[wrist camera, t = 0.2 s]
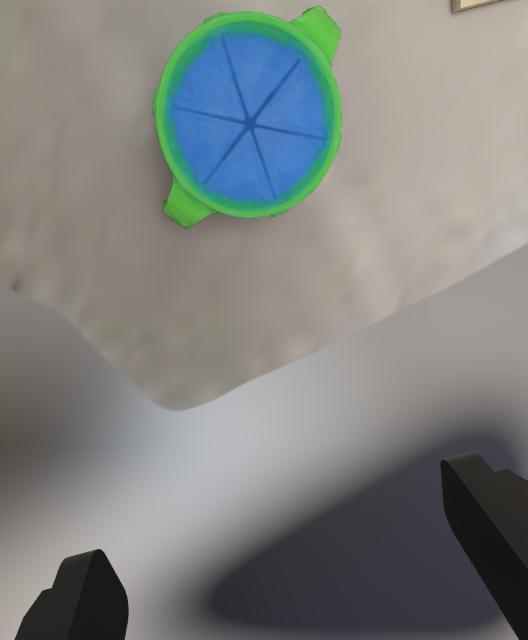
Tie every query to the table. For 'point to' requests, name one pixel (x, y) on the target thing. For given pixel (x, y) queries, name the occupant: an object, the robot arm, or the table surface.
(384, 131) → the table surface
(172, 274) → the table surface
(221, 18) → the snack cup
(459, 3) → the beige wooden board
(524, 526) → the robot arm
